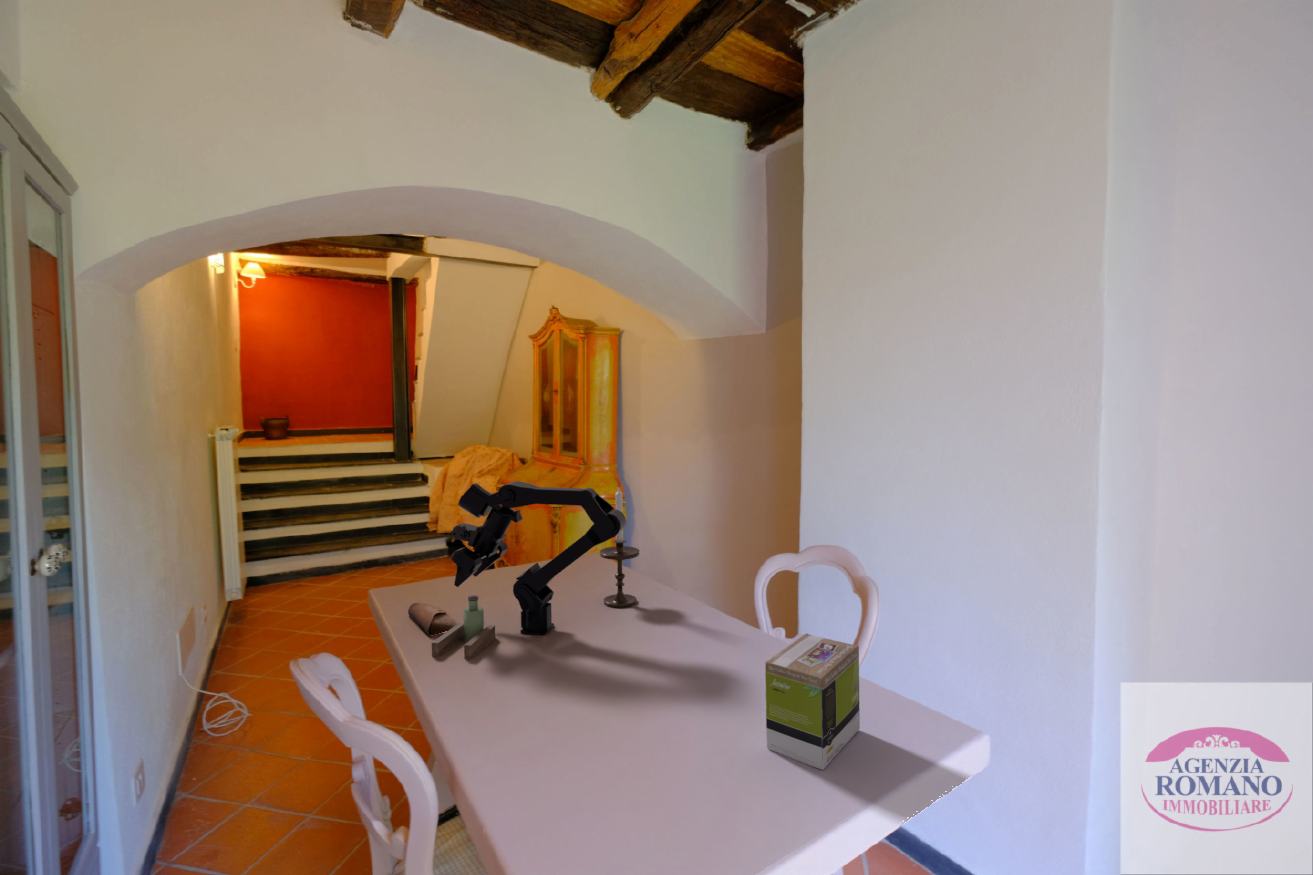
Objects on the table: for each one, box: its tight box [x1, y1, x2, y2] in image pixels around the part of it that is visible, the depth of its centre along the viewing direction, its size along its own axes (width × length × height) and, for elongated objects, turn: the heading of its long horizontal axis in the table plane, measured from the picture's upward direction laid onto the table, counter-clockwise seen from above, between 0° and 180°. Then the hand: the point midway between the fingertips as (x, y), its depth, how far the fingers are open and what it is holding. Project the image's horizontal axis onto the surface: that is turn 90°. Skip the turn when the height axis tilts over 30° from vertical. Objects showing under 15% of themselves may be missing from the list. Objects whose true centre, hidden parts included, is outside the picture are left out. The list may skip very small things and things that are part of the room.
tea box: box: [764, 633, 861, 771], centre depth 100 cm, size 15×10×15 cm, turn 141°
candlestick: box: [599, 476, 640, 609], centre depth 168 cm, size 11×11×35 cm
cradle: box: [431, 622, 496, 660], centre depth 139 cm, size 9×12×3 cm
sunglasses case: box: [407, 602, 458, 636], centre depth 155 cm, size 18×7×7 cm
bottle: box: [462, 594, 485, 643], centre depth 144 cm, size 5×5×10 cm
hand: (465, 580), depth 152 cm, fingers open, 9 cm apart
